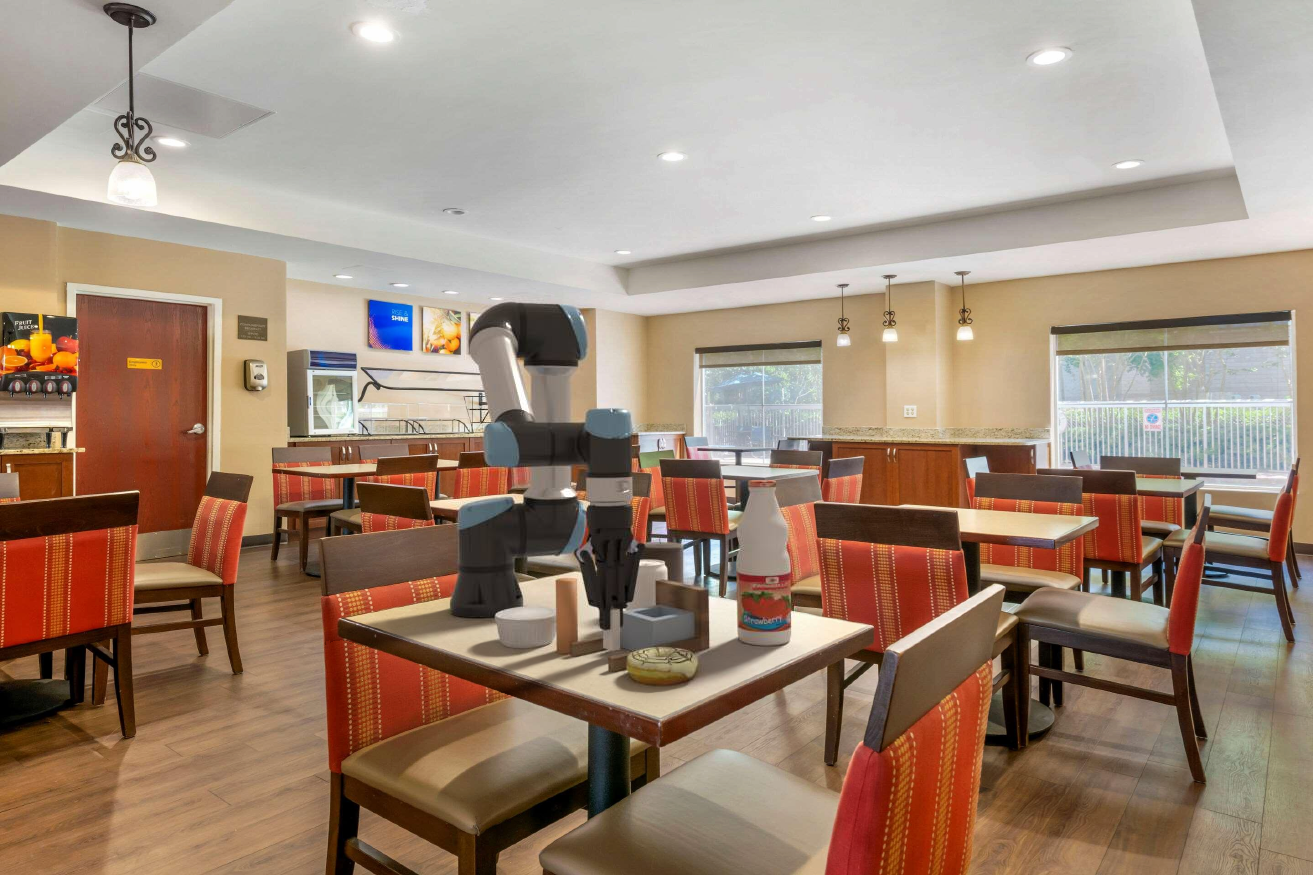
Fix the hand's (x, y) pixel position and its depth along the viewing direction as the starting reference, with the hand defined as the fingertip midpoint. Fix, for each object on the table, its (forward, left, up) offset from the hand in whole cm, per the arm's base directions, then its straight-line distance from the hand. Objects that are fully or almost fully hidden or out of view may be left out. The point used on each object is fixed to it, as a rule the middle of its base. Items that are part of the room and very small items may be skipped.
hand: (611, 648), depth 123 cm
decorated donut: (+13, 0, -2) cm, 13 cm away
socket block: (0, +10, -2) cm, 10 cm away
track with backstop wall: (0, +6, -2) cm, 6 cm away
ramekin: (-18, -5, -2) cm, 19 cm away
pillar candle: (-21, +28, -2) cm, 35 cm away
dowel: (-8, -3, -2) cm, 9 cm away
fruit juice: (+9, +27, -2) cm, 28 cm away
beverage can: (-13, +18, -2) cm, 22 cm away
